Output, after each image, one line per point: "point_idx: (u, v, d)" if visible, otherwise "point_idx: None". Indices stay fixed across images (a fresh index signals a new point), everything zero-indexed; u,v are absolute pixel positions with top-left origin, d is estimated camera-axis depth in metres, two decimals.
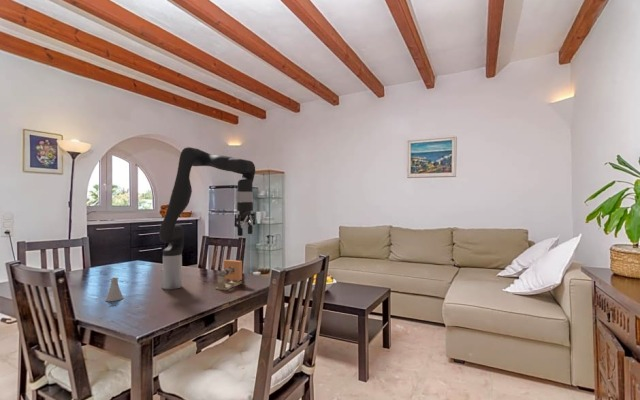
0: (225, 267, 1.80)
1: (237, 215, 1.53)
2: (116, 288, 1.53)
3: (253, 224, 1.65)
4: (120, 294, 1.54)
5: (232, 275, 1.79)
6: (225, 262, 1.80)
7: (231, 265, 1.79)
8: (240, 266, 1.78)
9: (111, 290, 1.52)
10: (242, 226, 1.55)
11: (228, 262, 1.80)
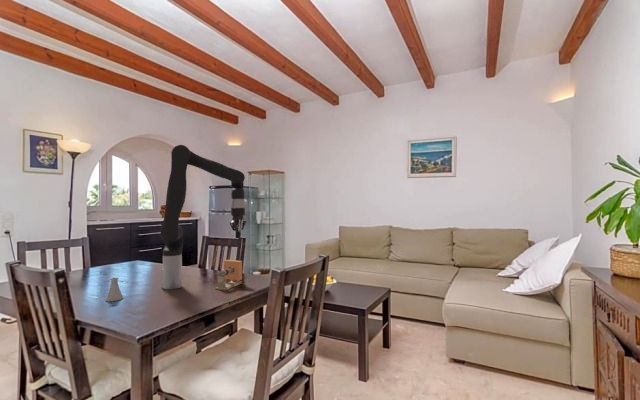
0: (225, 267, 1.80)
1: (232, 224, 1.79)
2: (116, 288, 1.53)
3: (241, 229, 1.86)
4: (120, 294, 1.54)
5: (232, 275, 1.79)
6: (225, 262, 1.80)
7: (231, 265, 1.79)
8: (240, 266, 1.78)
9: (111, 290, 1.52)
10: (239, 229, 1.84)
11: (228, 262, 1.80)
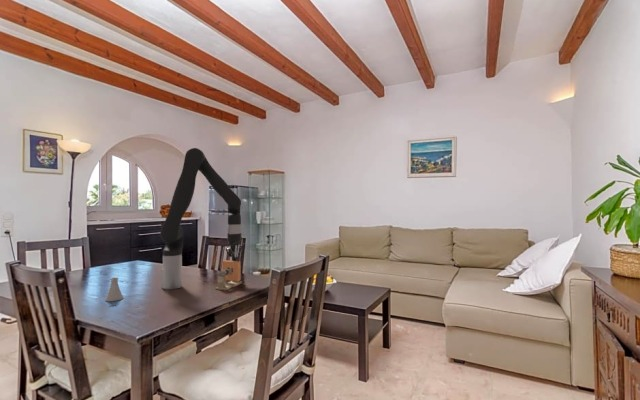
0: (223, 267, 1.79)
1: (228, 250, 1.76)
2: (116, 288, 1.53)
3: (237, 254, 1.83)
4: (120, 294, 1.54)
5: (231, 276, 1.77)
6: (223, 262, 1.79)
7: (230, 265, 1.78)
8: (239, 266, 1.77)
9: (111, 290, 1.52)
10: (235, 255, 1.81)
11: (226, 262, 1.78)
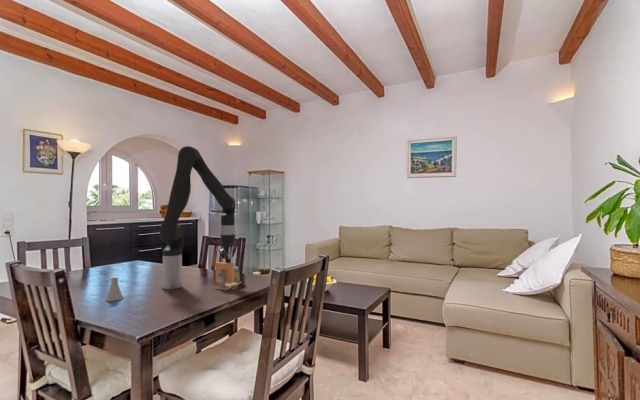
0: (217, 270, 1.74)
1: (221, 252, 1.71)
2: (116, 288, 1.53)
3: None
4: (120, 294, 1.54)
5: None
6: (217, 264, 1.74)
7: (223, 268, 1.72)
8: (232, 268, 1.72)
9: (111, 290, 1.52)
10: (229, 257, 1.75)
11: (220, 264, 1.73)
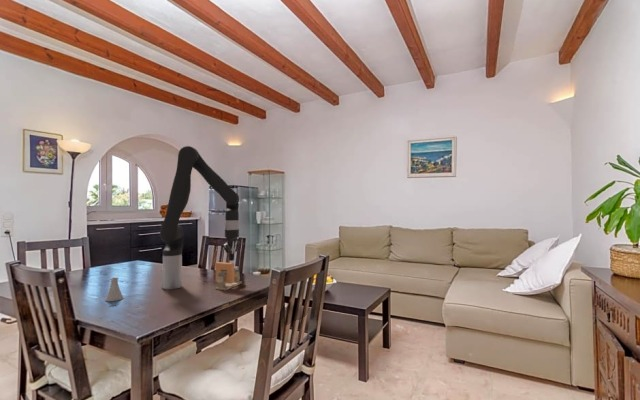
0: (217, 270, 1.74)
1: (225, 246, 1.73)
2: (116, 288, 1.53)
3: (235, 251, 1.81)
4: (120, 294, 1.54)
5: None
6: (217, 264, 1.74)
7: (223, 268, 1.72)
8: (232, 268, 1.72)
9: (111, 290, 1.52)
10: (233, 251, 1.78)
11: (220, 264, 1.73)
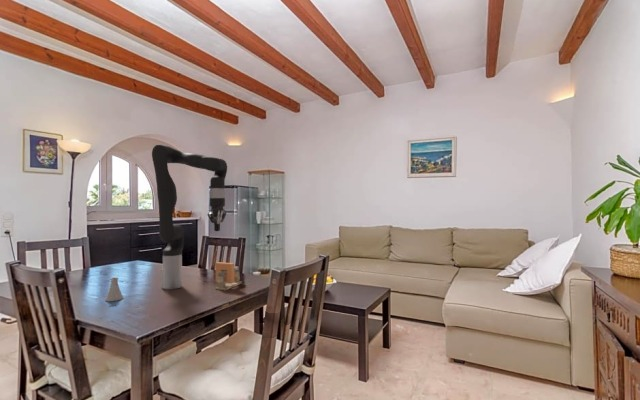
0: (217, 270, 1.74)
1: (210, 215, 1.64)
2: (116, 288, 1.53)
3: None
4: (120, 294, 1.54)
5: None
6: (217, 264, 1.74)
7: (223, 268, 1.72)
8: (232, 268, 1.72)
9: (111, 290, 1.52)
10: (218, 221, 1.69)
11: (220, 264, 1.73)
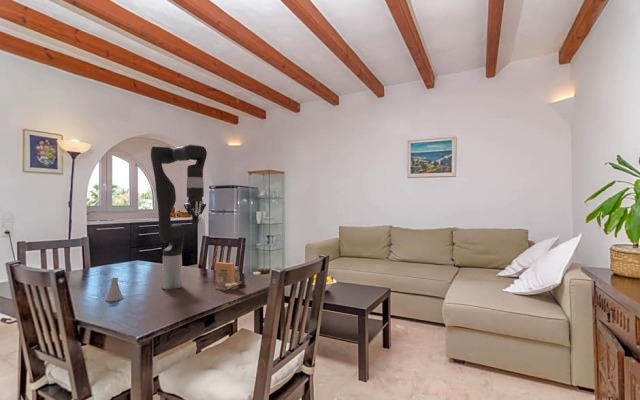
0: (217, 270, 1.74)
1: (186, 206, 1.51)
2: (116, 288, 1.53)
3: None
4: (120, 294, 1.54)
5: None
6: (217, 264, 1.74)
7: (223, 268, 1.72)
8: (232, 268, 1.72)
9: (111, 290, 1.52)
10: (196, 213, 1.56)
11: (220, 264, 1.73)
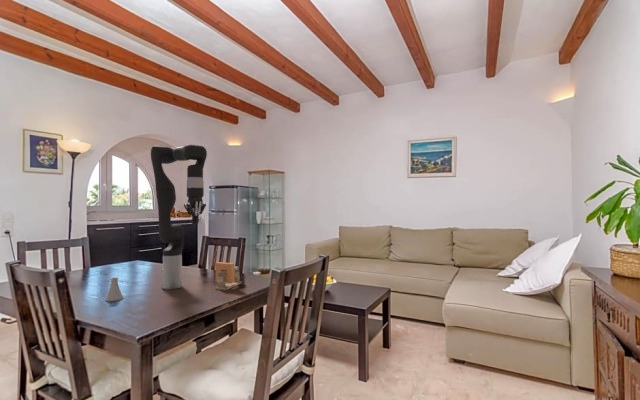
0: (217, 270, 1.74)
1: (186, 206, 1.51)
2: (116, 288, 1.53)
3: None
4: (120, 294, 1.54)
5: None
6: (217, 264, 1.74)
7: (223, 268, 1.72)
8: (232, 268, 1.72)
9: (111, 290, 1.52)
10: (196, 213, 1.56)
11: (220, 264, 1.73)
